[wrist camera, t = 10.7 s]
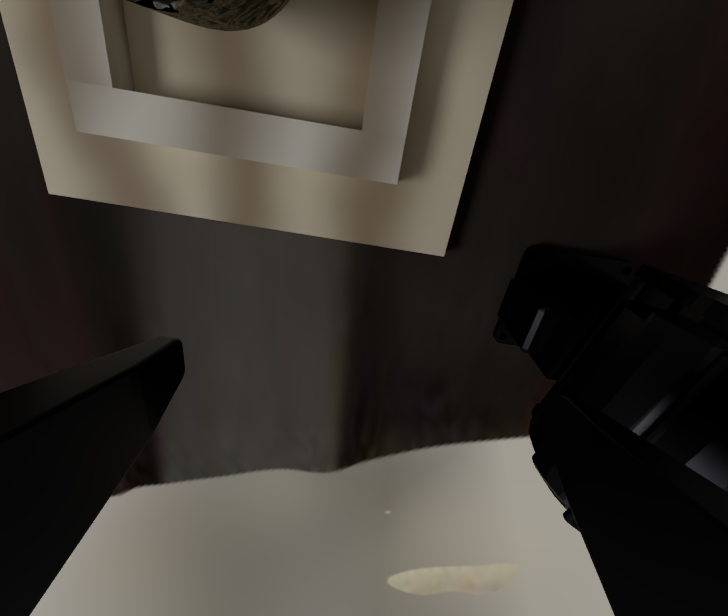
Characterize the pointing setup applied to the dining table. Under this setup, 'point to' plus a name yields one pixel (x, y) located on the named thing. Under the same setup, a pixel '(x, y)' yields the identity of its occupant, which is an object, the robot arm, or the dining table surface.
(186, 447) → the dining table surface
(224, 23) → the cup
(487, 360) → the dining table surface
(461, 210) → the dining table surface
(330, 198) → the docking plate
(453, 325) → the dining table surface
